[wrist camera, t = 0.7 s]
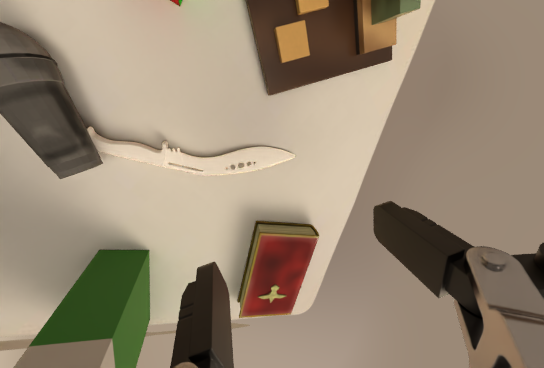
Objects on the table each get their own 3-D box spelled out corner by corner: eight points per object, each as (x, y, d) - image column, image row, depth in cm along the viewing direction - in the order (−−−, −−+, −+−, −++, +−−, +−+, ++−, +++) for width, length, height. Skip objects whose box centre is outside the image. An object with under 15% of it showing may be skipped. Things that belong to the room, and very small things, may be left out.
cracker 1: (273, 29, 28) (275, 27, 27) (302, 21, 28) (304, 19, 27) (280, 63, 30) (282, 62, 29) (307, 56, 30) (310, 55, 29)
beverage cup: (68, 178, 22) (-123, -87, 14) (30, 188, 24) (-150, -33, 17) (127, 154, 28) (15, -39, 21) (92, 165, 31) (-20, -4, 23)
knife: (296, 149, 37) (299, 151, 36) (289, 179, 39) (292, 183, 38) (79, 123, 28) (72, 125, 26) (85, 165, 30) (79, 169, 28)
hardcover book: (312, 224, 44) (321, 237, 40) (287, 298, 51) (293, 315, 47) (256, 220, 40) (260, 234, 37) (237, 300, 48) (239, 319, 44)
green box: (149, 319, 44) (86, 536, 23) (107, 322, 42) (-7, 566, 20) (149, 250, 38) (60, 460, 16) (99, 249, 36) (-78, 491, 14)
